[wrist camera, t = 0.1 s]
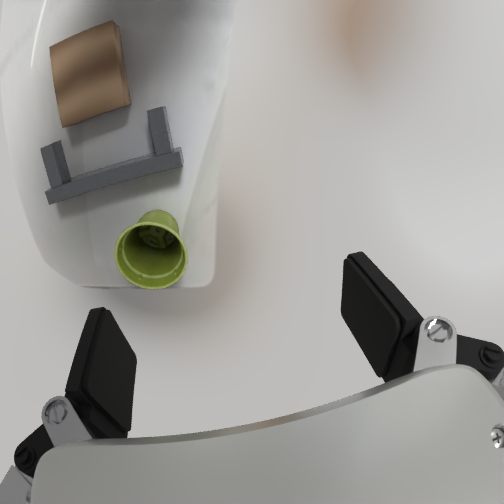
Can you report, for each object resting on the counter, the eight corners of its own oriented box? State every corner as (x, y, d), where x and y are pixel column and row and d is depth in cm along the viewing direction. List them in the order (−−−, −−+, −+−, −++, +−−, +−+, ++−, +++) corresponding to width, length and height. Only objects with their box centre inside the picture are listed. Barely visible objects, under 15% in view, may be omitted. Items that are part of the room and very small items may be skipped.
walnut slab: (61, 50, 25) (49, 47, 22) (119, 27, 26) (111, 20, 23) (73, 124, 31) (62, 127, 28) (131, 104, 32) (124, 104, 29)
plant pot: (118, 240, 41) (104, 272, 34) (142, 187, 38) (130, 209, 30) (172, 265, 45) (168, 299, 37) (200, 215, 42) (201, 243, 34)
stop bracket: (44, 147, 31) (33, 151, 28) (172, 104, 33) (170, 104, 30) (58, 196, 35) (49, 204, 32) (183, 160, 37) (182, 166, 34)
